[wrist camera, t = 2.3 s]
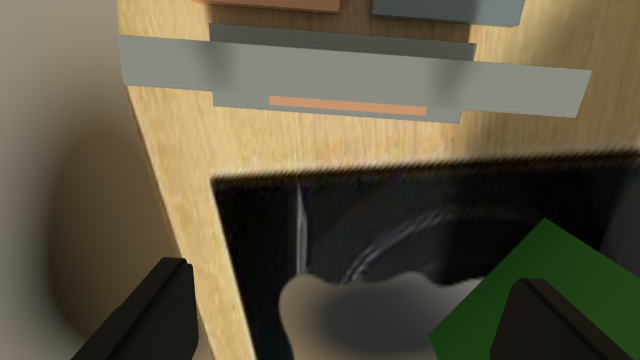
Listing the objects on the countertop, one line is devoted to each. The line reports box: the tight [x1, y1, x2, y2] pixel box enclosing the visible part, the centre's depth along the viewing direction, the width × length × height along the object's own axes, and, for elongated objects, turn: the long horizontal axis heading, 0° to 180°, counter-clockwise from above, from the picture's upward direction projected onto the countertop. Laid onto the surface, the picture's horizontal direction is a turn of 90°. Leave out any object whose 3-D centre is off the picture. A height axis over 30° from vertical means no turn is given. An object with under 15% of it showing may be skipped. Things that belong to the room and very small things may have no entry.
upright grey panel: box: [117, 23, 593, 124], centre depth 19 cm, size 20×6×12 cm, turn 86°
